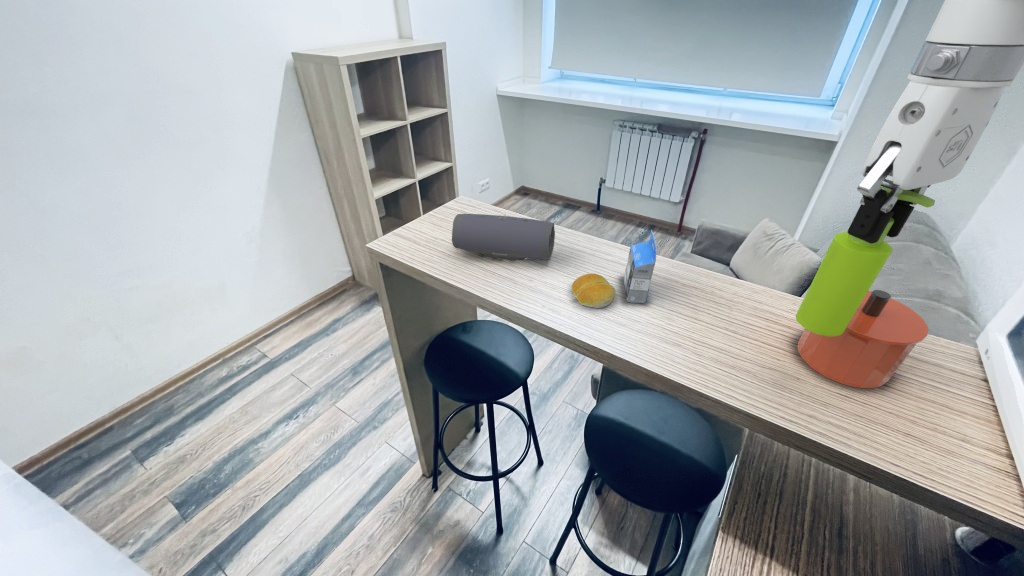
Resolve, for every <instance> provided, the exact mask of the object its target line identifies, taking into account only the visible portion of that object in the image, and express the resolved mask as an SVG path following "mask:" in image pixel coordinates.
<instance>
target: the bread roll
mask: <svg viewBox="0 0 1024 576" xmlns="http://www.w3.org/2000/svg"><path fill="white" fill-rule="evenodd" d="M571 292H572V294H573V296H575V298H576V299H577V302H578V303H579V304H580V305H582V306H585V307H589V308H596V309H602V308H604V307H607V306H609V305H611V304H612V302H614V299H615V296H616V291H615V288H614V286H613V285H611V284H610V282H609V281H608V279H606V278H605V277H604V276H602V275H601V274H597V273H586V274H582V275H580V276H578V277H577V278H576V279H575V280H574V281H573V282H572V284H571Z"/></svg>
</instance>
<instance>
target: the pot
mask: <svg viewBox="0 0 1024 576" xmlns="http://www.w3.org/2000/svg"><path fill="white" fill-rule="evenodd" d="M917 344H918V343H916V344H912V345H892V344H885V343H880V342H876V341H872V340H869V339H866V338H863V337H860V336H858V335H855V334H853V333H851V332H849V331H846V330H845V331H844V332H843V333H842V334H841V335H839V336H823V335H819V334H816V333H813V332H811V331H809V330H807V329H805V328H804V329H803V331H802V334H801V336H800V337H799V340H798V342H797V351H798V354H799V355H800V357H801V359H802V360H803V361H804V362H805V363H806V364H807V365H808V366H809V367H810V368H811V369H813V370H814V371H816V372H817V373H818V374H820V375H821V376H823V377H825V378H827V379H830V380H831V381H833V382H836V383H839V384H841V385H845V386H849V387H853V388H857V389H858V388H860V389H876V388H879V387H882V386H884V385H885V384H886V383H888V382H890V380H891V378H892V377H893V376H894V374H895V373H896V372H897V370H898V369H900V367H901V365H902V364H903V362H904V361H905V359H906V358H907V357H908V356H909V354H910V353H911V352H912V350H913V349H914V348H915V346H916V345H917Z"/></svg>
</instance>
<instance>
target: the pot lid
mask: <svg viewBox="0 0 1024 576" xmlns="http://www.w3.org/2000/svg"><path fill="white" fill-rule="evenodd" d="M845 330H846V331H849V332H851V333H853V334H855V335H858V336H860V337H863V338H866V339H869V340H872V341H876V342H880V343H885V344H892V345H912V344H916V343H917V344H919V343H921V342H923V341H924V340H925V339H926V338H927V337H928V334H929V326H928V325H927V323H926V321H925V320H924V318H923V317H922V316H921V315H920V314H918V313H917V312H916V311H915V310H913V309H912V308H911V307H909V306H908V305H906V304H903V303H902V302H900V301H898V300H896V299H893V298H892V295H891V294H890V293H889V292H887V291H885V290H881V289H874V290H872V291H871V290H868V292H867V294H866V295H865V297H864V299H863V301H862V302H861V304H860V306H859V307H858V309H857V311H856V312H855V314H854V316H853V317H852V319H851V321H850V322H849V324H848V326H847V327H846V329H845ZM917 344H916V345H917Z"/></svg>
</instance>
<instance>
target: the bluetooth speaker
mask: <svg viewBox="0 0 1024 576" xmlns="http://www.w3.org/2000/svg"><path fill="white" fill-rule="evenodd" d="M555 230H556V229H555V222H551V221H547V220H540V219H535V218H527V217H518V216H508V215H498V214H484V213H483V214H481V213H457V214H456V215H455V216H454V218H453V221H452V230H451V243H452V246H453V248H454V249H457V250H462V251H465V252H471V253H477V254H482V256H483V257H487V258H491V259H498V260H505V261H506V260H507V261H519V262H520V261H525V260H526V259H533V260H551V257H552V254H553V253H554V246H555V239H556V231H555Z"/></svg>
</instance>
